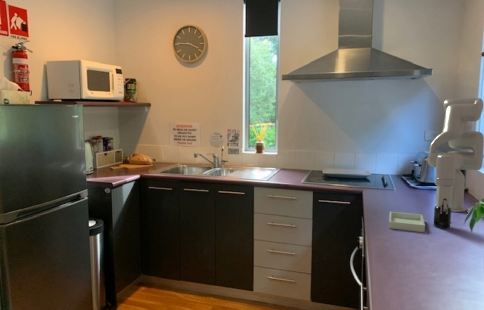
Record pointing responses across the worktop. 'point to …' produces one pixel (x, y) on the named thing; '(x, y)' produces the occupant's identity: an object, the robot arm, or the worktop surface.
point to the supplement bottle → (436, 218)
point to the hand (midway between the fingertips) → (442, 219)
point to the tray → (406, 221)
